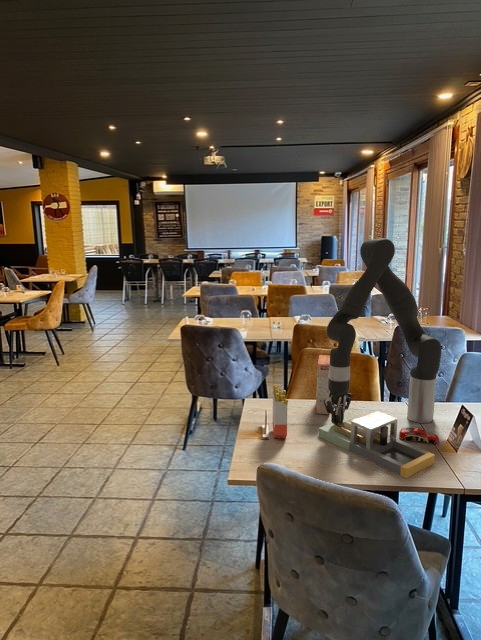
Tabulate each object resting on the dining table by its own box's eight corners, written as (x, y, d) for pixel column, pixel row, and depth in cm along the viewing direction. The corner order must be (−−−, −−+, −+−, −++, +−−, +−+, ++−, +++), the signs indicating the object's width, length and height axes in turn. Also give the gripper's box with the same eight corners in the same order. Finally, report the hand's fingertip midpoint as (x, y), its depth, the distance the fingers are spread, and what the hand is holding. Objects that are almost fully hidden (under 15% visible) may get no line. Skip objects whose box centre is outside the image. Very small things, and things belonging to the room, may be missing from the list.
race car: (438, 439, 169) (439, 429, 169) (439, 446, 164) (440, 435, 164) (399, 434, 174) (400, 423, 173) (398, 440, 169) (399, 429, 168)
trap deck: (346, 425, 181) (346, 417, 180) (434, 463, 152) (434, 454, 152) (318, 435, 172) (318, 428, 171) (405, 478, 144) (406, 469, 143)
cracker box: (330, 415, 190) (332, 364, 186) (315, 414, 191) (316, 363, 187) (331, 402, 203) (333, 355, 199) (316, 401, 204) (318, 354, 200)
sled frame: (344, 419, 178) (344, 404, 177) (395, 441, 160) (396, 424, 159) (325, 426, 172) (326, 410, 171) (376, 449, 154) (377, 432, 153)
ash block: (355, 427, 171) (355, 417, 170) (378, 437, 163) (379, 426, 163) (343, 432, 168) (344, 421, 167) (367, 442, 160) (367, 431, 159)
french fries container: (284, 428, 178) (285, 382, 174) (287, 441, 167) (289, 392, 164) (272, 428, 178) (272, 382, 174) (274, 441, 167) (275, 392, 164)
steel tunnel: (376, 431, 169) (377, 411, 167) (396, 439, 162) (397, 418, 161) (350, 441, 160) (351, 420, 159) (369, 450, 154) (371, 429, 153)
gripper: (343, 370, 177) (342, 414, 181) (317, 378, 169) (316, 424, 173) (360, 375, 172) (358, 421, 175) (333, 383, 163) (332, 431, 167)
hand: (337, 422), depth 174 cm, fingers closed on sled frame, 2 cm apart
